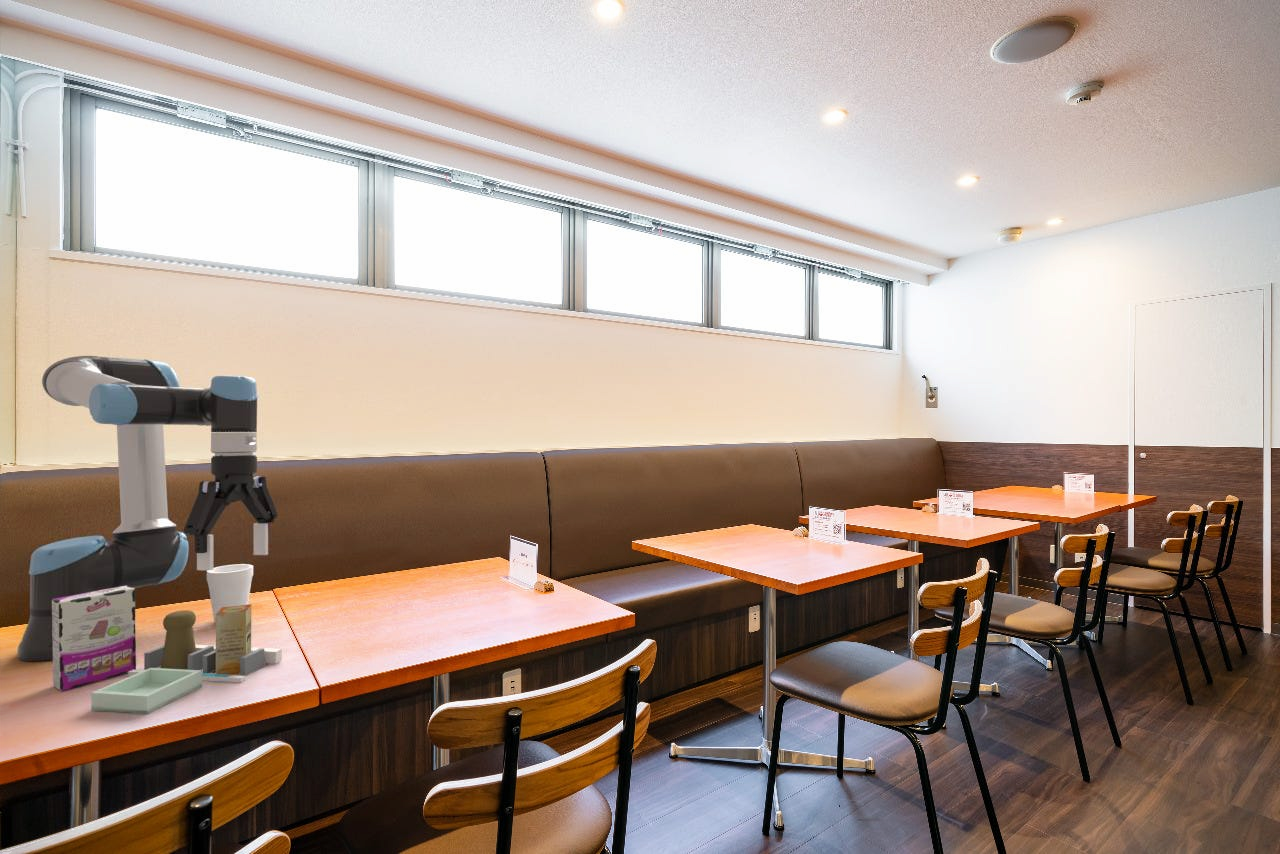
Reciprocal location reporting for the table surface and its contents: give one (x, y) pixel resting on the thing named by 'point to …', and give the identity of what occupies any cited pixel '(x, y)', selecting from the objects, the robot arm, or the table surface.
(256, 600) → the table surface
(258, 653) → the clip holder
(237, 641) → the shoe polish box
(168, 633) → the cork
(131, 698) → the tray
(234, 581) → the foam cup
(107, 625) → the candy bar box
